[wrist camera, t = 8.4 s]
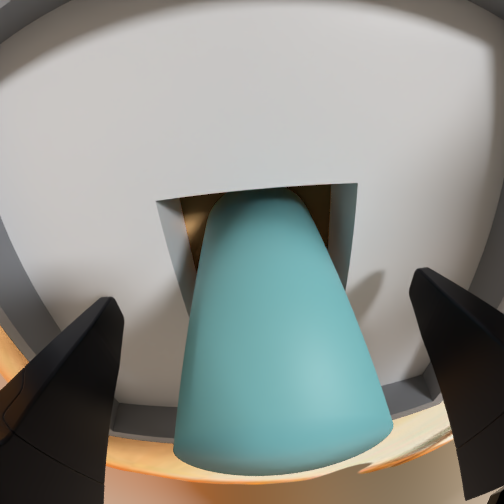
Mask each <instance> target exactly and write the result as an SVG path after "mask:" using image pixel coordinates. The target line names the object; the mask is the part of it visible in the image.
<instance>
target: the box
mask: <svg viewBox="0 0 504 504" xmlns="http://www.w3.org/2000/svg"><path fill="white" fill-rule="evenodd" d="M321 184H331V201H330V222H329V238H328V253H329V255H330V258H331V260H332V262H333V264H334V267H335V269H336V271H337V274H338V276H339V278H340V281H341V283H342V285H343V288H344V290H345V292H346V295H347V297H348V300H349V302H350V305H351V307H352V309H353V312H354V314H355V317H356V319H357V322H358V325H359V327H360V330H361V332H362V335H363V337H364V340H365V343H366V345H367V348H368V351H369V353H370V356H371V359H372V362H373V364H374V367H375V370H376V373H377V376H378V379H379V382H380V385H381V387H382V390H383V393H384V396H385V399H386V403H387V406H388V409H389V412H390V415H391V418H392V420H394V419H397V418H401V417H404V416H407V415H410V414H413V413H416V412H419V411H422V410H424V409H427V408H430V407H433V406H435V405H438V404H440V403H441V402H442V401H443V397H442V394H441V391H440V388H439V384H438V381H437V378H436V375H435V373H434V370H433V367H432V364H431V361H430V358H429V356H428V353H427V350H426V348H425V345H424V342H423V339H422V337H421V333H420V330H419V327H418V323H417V320H416V316H415V313H414V310H413V307H412V304H411V300H410V297H409V287H410V284H411V281H412V278H413V275H414V272H415V270H416V269H417V268H423V267H429V268H430V269H432V270H434V271H436V272H437V273H439V274H441V275H442V276H444V277H446V278H448V279H449V280H451V281H453V282H454V283H456V284H458V285H459V286H461V287H462V288H464V289H466V290H467V291H469V292H471V293H472V294H474V295H475V296H477V297H479V298H480V299H482V300H483V301H485V302H486V303H488V304H489V305H491V306H493V307H494V308H496V309H497V310H499V311H500V312H502V313H503V314H504V0H0V325H1V327H2V328H3V329H4V331H5V332H6V333H7V335H8V336H9V337H10V339H11V340H12V341H13V343H14V344H15V345H16V346H17V348H18V349H19V350H20V351H21V353H22V354H23V355H24V356H25V357H26V359H27V360H28V361H29V362H30V361H31V360H32V359H33V358H34V357H35V356H36V355H37V354H38V353H39V352H40V351H41V350H42V349H44V348H45V347H46V346H47V345H48V344H49V343H50V342H51V341H52V340H53V339H54V338H55V337H56V336H57V335H59V334H60V333H61V332H62V331H63V330H64V329H65V328H66V327H67V326H68V325H70V324H71V323H72V322H73V321H74V320H75V319H76V318H77V317H78V316H80V315H81V314H82V313H83V312H84V311H85V310H86V309H88V308H89V307H90V306H91V305H92V304H93V303H94V302H96V301H97V300H98V299H99V298H100V297H109V296H111V297H114V298H115V300H116V302H117V304H118V306H119V308H120V310H121V312H122V314H123V316H124V331H123V340H122V349H121V360H120V367H119V373H118V378H117V384H116V390H115V395H114V401H113V408H112V414H111V422H110V429H109V436H115V437H121V438H128V439H135V440H142V441H151V442H161V443H173V444H174V436H175V426H176V416H177V407H178V398H179V390H180V382H181V374H182V367H183V359H184V352H185V345H186V338H187V331H188V325H189V319H190V312H191V306H192V300H193V294H194V288H195V282H196V277H197V273H196V269H195V265H194V261H193V256H192V252H191V248H190V244H189V239H188V235H187V230H186V226H185V221H184V217H183V212H182V208H181V203H180V197H188V196H196V195H204V194H213V193H222V192H231V191H241V190H252V189H263V188H275V187H289V186H303V185H321Z"/></svg>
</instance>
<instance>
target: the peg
mask: <svg viewBox="0 0 504 504" xmlns="http://www.w3.org/2000/svg"><path fill="white" fill-rule="evenodd" d="M392 429H393V422H392V418H391V415H390V412H389V409H388V406H387V403H386V399H385V396H384V393H383V390H382V387H381V385H380V382H379V379H378V376H377V373H376V370H375V367H374V364H373V362H372V359H371V356H370V353H369V351H368V348H367V345H366V343H365V340H364V337H363V335H362V332H361V330H360V327H359V325H358V322H357V319H356V317H355V314H354V312H353V309H352V307H351V305H350V302H349V300H348V297H347V295H346V292H345V290H344V288H343V285H342V283H341V281H340V278H339V276H338V274H337V271H336V269H335V267H334V264H333V262H332V260H331V258H330V255H329V253H328V251H327V249H326V247H325V244H324V242H323V240H322V238H321V236H320V234H319V231H318V229H317V227H316V225H315V223H314V221H313V219H312V217H311V215H310V212H309V210H308V209H307V207H306V205H305V203H304V202H303V201H302V199H301V198H300V197H299V196H298V195H297V194H295V193H294V192H292V191H291V190H289V189H288V188H286V187H275V188H263V189H252V190H241V191H231V192H227V193H225V194H224V195H223V196H222V197H221V198H220V199H219V200H218V201H217V202H216V203H215V205H214V206H213V208H212V209H211V211H210V213H209V216H208V219H207V224H206V229H205V234H204V239H203V244H202V250H201V255H200V260H199V266H198V271H197V277H196V282H195V288H194V294H193V300H192V306H191V312H190V319H189V325H188V331H187V338H186V345H185V352H184V359H183V367H182V374H181V382H180V390H179V398H178V407H177V416H176V426H175V436H174V447H173V452H174V454H175V456H176V457H177V458H179V459H180V460H181V461H183V462H185V463H187V464H189V465H191V466H194V467H197V468H200V469H203V470H207V471H212V472H217V473H223V474H231V475H244V476H269V475H283V474H291V473H298V472H304V471H309V470H314V469H318V468H322V467H326V466H330V465H333V464H336V463H339V462H342V461H345V460H347V459H350V458H352V457H355V456H357V455H359V454H361V453H363V452H365V451H367V450H369V449H371V448H372V447H374V446H376V445H377V444H379V443H380V442H381V441H383V440H384V439H385V438H386V437H387V436H388V435H389V434H390V432H391V431H392Z"/></svg>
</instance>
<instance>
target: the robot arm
mask: <svg viewBox="0 0 504 504" xmlns="http://www.w3.org/2000/svg"><path fill="white" fill-rule="evenodd" d="M409 297H410V300H411V304H412V307H413V310H414V313H415V316H416V320H417V323H418V327H419V330H420V333H421V337H422V339H423V342H424V345H425V348H426V350H427V353H428V356H429V358H430V361H431V364H432V367H433V370H434V373H435V375H436V378H437V381H438V384H439V388H440V391H441V394H442V397H443V400H444V404H445V407H446V411H447V414H448V418H449V422H450V425H451V429H452V433H453V438H454V442H455V446H456V448H457V449H456V451H457V456H458V460H459V466H460V472H461V477H462V483H463V490H464V497H465V500H466V501H467V500H470V499H472V498H475V497H477V496H480V495H483V494H485V493H488V492H490V491H493V490H495V489H497V488H499V487H502V486H503V487H502V488H501V489H499V490H498V491H496V492H495V493H494V494H492V495H491V496H490V498H489V501H488V503H487V504H504V314H503V313H502V312H500V311H499V310H497V309H496V308H494V307H493V306H491V305H489V304H488V303H486V302H485V301H483V300H482V299H480V298H479V297H477V296H475V295H474V294H472V293H471V292H469V291H467V290H466V289H464V288H462V287H461V286H459V285H458V284H456V283H454V282H453V281H451V280H449V279H448V278H446V277H444V276H442V275H441V274H439V273H437V272H436V271H434V270H432V269H430V268H429V267H423V268H417V269H416V270H415V272H414V275H413V278H412V281H411V284H410V287H409ZM123 331H124V316H123V314H122V312H121V310H120V308H119V306H118V304H117V302H116V300H115V298H114V297H111V296H109V297H100V298H99V299H98V300H97V301H96V302H94V303H93V304H92V305H91V306H90V307H89V308H88V309H86V310H85V311H84V312H83V313H82V314H81V315H80V316H78V317H77V318H76V319H75V320H74V321H73V322H72V323H71V324H70V325H68V326H67V327H66V328H65V329H64V330H63V331H62V332H61V333H60V334H59V335H57V336H56V337H55V338H54V339H53V340H52V341H51V342H50V343H49V344H48V345H47V346H46V347H45V348H44V349H42V350H41V351H40V352H39V353H38V354H37V355H36V356H35V357H34V358H33V359H32V360H31V361H30V362H29V363H28V364H27V365H26V366H25V368H23V369H22V370H21V371H20V372H19V373H18V374H17V375H16V376H15V377H14V378H13V379H12V380H11V381H10V382H9V383H8V384H7V385H6V386H5V387H4V388H3V389H1V390H0V504H104V481H105V467H106V456H107V446H108V437H109V429H110V422H111V414H112V408H113V401H114V395H115V390H116V384H117V378H118V373H119V367H120V360H121V349H122V340H123Z"/></svg>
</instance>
